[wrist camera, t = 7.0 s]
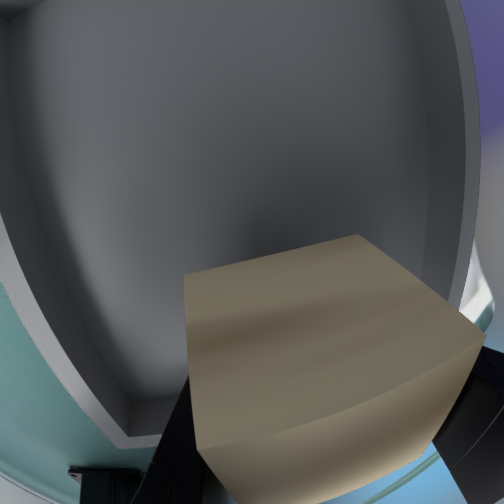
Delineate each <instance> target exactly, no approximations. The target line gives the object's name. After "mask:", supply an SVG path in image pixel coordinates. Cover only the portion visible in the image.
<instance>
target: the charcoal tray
mask: <svg viewBox="0 0 504 504" xmlns="http://www.w3.org/2000/svg"><path fill="white" fill-rule="evenodd" d="M480 149H481V145H480V115H479V101H478V91H477V82H476V74H475V68H474V61H473V55H472V49H471V44H470V40H469V35H468V31H467V26H466V22H465V18H464V14H463V10H462V7H461V3H460V0H0V280H1V282H2V284H3V287H4V289H5V291H6V293H7V295H8V297H9V299H10V301H11V303H12V305H13V307H14V309H15V310H16V312H17V314H18V316H19V318H20V320H21V321H22V323H23V325H24V327H25V328H26V330H27V332H28V334H29V335H30V337H31V339H32V340H33V342H34V343H35V345H36V347H37V348H38V350H39V351H40V353H41V354H42V356H43V357H44V359H45V360H46V362H47V363H48V365H49V366H50V368H51V369H52V371H53V372H54V374H55V375H56V376H57V378H58V379H59V380H60V382H61V383H62V385H63V386H64V387H65V389H66V390H67V391H68V392H69V394H70V395H71V396H72V398H73V399H74V400H75V401H76V403H77V404H78V405H79V406H80V408H81V409H82V410H83V411H84V412H85V413H86V415H87V416H88V417H89V418H90V419H91V420H92V422H93V423H94V424H95V425H96V426H97V427H98V428H99V429H100V431H101V432H102V433H103V434H104V435H105V436H106V437H107V438H108V439H109V440H110V441H111V442H112V443H113V444H114V445H115V446H116V447H117V448H118V449H119V450H120V449H136V448H148V447H157V446H158V443H159V441H160V439H161V436H162V434H163V432H164V429H165V427H166V425H167V423H168V420H169V418H170V416H171V413H172V411H173V409H174V406H175V404H176V402H177V399H178V397H179V395H180V393H181V390H182V388H183V386H184V383H185V381H186V379H187V377H188V374H189V368H188V355H187V340H186V323H185V301H184V275H187V274H191V273H195V272H200V271H204V270H208V269H213V268H217V267H221V266H225V265H230V264H234V263H238V262H242V261H247V260H251V259H255V258H259V257H264V256H268V255H272V254H276V253H281V252H285V251H289V250H293V249H297V248H301V247H306V246H310V245H314V244H318V243H322V242H327V241H331V240H335V239H339V238H343V237H347V236H351V235H356V234H359V235H360V236H362V237H363V238H364V239H366V240H367V241H369V242H370V243H371V244H373V245H374V246H376V247H377V248H378V249H380V250H381V251H383V252H384V253H385V254H387V255H388V256H389V257H391V258H392V259H393V260H395V261H396V262H397V263H399V264H400V265H401V266H403V267H404V268H405V269H407V270H408V271H409V272H411V273H412V274H413V275H414V276H416V277H417V278H418V279H420V280H421V281H422V282H423V283H425V284H426V285H427V286H429V287H430V288H431V289H432V290H434V291H435V292H436V293H437V294H439V295H440V296H441V297H442V298H443V299H445V300H446V301H447V302H448V303H450V304H451V305H452V306H453V307H454V308H456V309H457V310H459V306H460V302H461V298H462V294H463V290H464V286H465V282H466V277H467V273H468V268H469V263H470V257H471V252H472V246H473V239H474V233H475V225H476V216H477V208H478V197H479V183H480V152H481V150H480Z"/></svg>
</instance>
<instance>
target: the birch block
mask: <svg viewBox="0 0 504 504" xmlns="http://www.w3.org/2000/svg"><path fill="white" fill-rule="evenodd" d="M184 301H185V323H186V340H187V355H188V368H189V380H190V392H191V402H192V412H193V421H194V429H195V438H196V445H197V451H198V452H199V453H200V455H201V456H202V458H203V459H204V460H205V462H206V463H207V465H208V466H209V467H210V469H211V470H212V471H213V473H214V474H215V475H216V477H217V478H218V479H219V481H220V482H221V483H222V484H223V486H224V487H225V488H226V489H227V491H228V492H229V493H230V494H231V496H232V497H233V498H234V499H235V500H236V502H237V503H238V504H318V503H321V502H324V501H327V500H330V499H332V498H335V497H338V496H341V495H343V494H346V493H348V492H350V491H353V490H355V489H358V488H360V487H362V486H365V485H367V484H369V483H371V482H374V481H376V480H378V479H380V478H382V477H384V476H386V475H388V474H390V473H392V472H394V471H396V470H398V469H400V468H402V467H403V466H405V465H407V464H409V463H411V462H412V461H414V460H416V459H418V458H419V457H421V455H422V454H423V453H424V451H425V450H426V448H427V447H428V445H429V444H430V442H431V441H432V439H433V438H434V436H435V435H436V433H437V432H438V430H439V429H440V427H441V425H442V424H443V422H444V420H445V419H446V417H447V415H448V414H449V412H450V410H451V408H452V407H453V405H454V403H455V401H456V399H457V398H458V396H459V394H460V392H461V390H462V388H463V386H464V384H465V382H466V380H467V378H468V376H469V374H470V372H471V370H472V368H473V366H474V363H475V361H476V359H477V357H478V354H479V352H480V350H481V347H482V345H483V342H484V340H485V337H486V334H485V333H484V332H482V331H481V330H480V329H479V328H478V327H477V326H476V325H474V324H473V323H472V322H471V321H470V320H469V319H467V318H466V317H465V316H464V315H463V314H462V313H460V312H459V311H458V310H457V309H456V308H454V307H453V306H452V305H451V304H450V303H448V302H447V301H446V300H445V299H443V298H442V297H441V296H440V295H439V294H437V293H436V292H435V291H434V290H432V289H431V288H430V287H429V286H427V285H426V284H425V283H423V282H422V281H421V280H420V279H418V278H417V277H416V276H414V275H413V274H412V273H411V272H409V271H408V270H407V269H405V268H404V267H403V266H401V265H400V264H399V263H397V262H396V261H395V260H393V259H392V258H391V257H389V256H388V255H387V254H385V253H384V252H383V251H381V250H380V249H378V248H377V247H376V246H374V245H373V244H371V243H370V242H369V241H367V240H366V239H364V238H363V237H362V236H360V235H359V234H356V235H351V236H347V237H343V238H339V239H335V240H331V241H327V242H322V243H318V244H314V245H310V246H306V247H301V248H297V249H293V250H289V251H285V252H281V253H276V254H272V255H268V256H264V257H259V258H255V259H251V260H247V261H242V262H238V263H234V264H230V265H225V266H221V267H217V268H213V269H208V270H204V271H200V272H195V273H191V274H187V275H184Z"/></svg>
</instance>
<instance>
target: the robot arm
mask: <svg viewBox="0 0 504 504" xmlns="http://www.w3.org/2000/svg"><path fill="white" fill-rule="evenodd" d="M432 442H433V444H434V446H435V447H436V449H437V451H438V452H439V454H440V456H441V457H442V459H443V461H444V462H445V464H446V466H447V468H448V469H449V471H451V472H450V473H451V475H452V477H453V478H454V480H455V482H456V484H457V485H458V487H459V489H460V491H461V493H462V494H463V496H464V498H465V500H466V501H467V503H468V504H494V503H496V502H498V501H499V500H501V499H502V498H504V353H502V352H499V351H496V350H493V349H490V348H488V347H485V346H482V347H481V350H480V352H479V354H478V357H477V359H476V361H475V363H474V366H473V368H472V370H471V372H470V374H469V376H468V378H467V380H466V382H465V384H464V386H463V388H462V390H461V392H460V394H459V396H458V398H457V399H456V401H455V403H454V405H453V407H452V408H451V410H450V412H449V414H448V415H447V417H446V419H445V420H444V422H443V424H442V425H441V427H440V429H439V430H438V432H437V433H436V435H435V436H434V438H433V439H432ZM151 461H152V462H151V463H150V464H149V466H148V469H147V471H146V474H145V475H144V474H142V473H141V472H140V471H138V470H82V469H68V475H69V476H71V477H72V478H73V479H75V480H76V481H77V482H79V483H80V484H81V488H80V502H79V504H236V502H235V499H234V498H233V497H232V496H231V494H230V493H229V492H228V491H227V489H226V488H225V487H224V486H223V484H222V483H221V482H220V481H219V479H218V478H217V477H216V475H215V474H214V473H213V471H212V470H211V469H210V467H209V466H208V465H207V463H206V462H205V460H204V459H203V458H202V456H201V455H200V453H199V452H198V451H197V445H196V438H195V429H194V421H193V412H192V402H191V392H190V380H189V374H188V377H187V379H186V381H185V383H184V386H183V388H182V390H181V393H180V395H179V397H178V399H177V402H176V404H175V406H174V409H173V411H172V413H171V416H170V418H169V420H168V423H167V425H166V427H165V429H164V432H163V434H162V436H161V439H160V441H159V443H158V446H157V448H156V450H155V453H154V455H153V457H152V460H151Z"/></svg>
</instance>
